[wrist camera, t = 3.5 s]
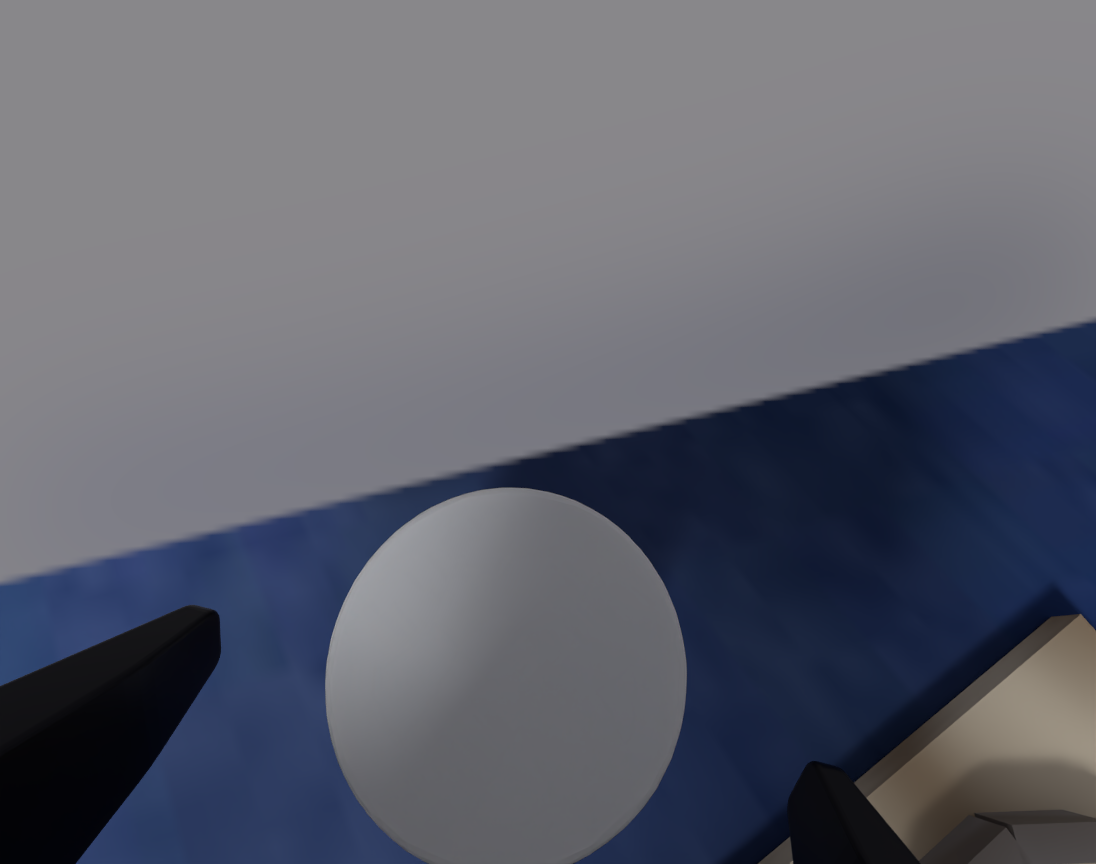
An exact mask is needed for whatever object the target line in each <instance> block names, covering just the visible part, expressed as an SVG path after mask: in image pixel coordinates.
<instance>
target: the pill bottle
mask: <svg viewBox="0 0 1096 864" xmlns="http://www.w3.org/2000/svg"><path fill="white" fill-rule="evenodd" d="M686 683H687V666H686V656H685V649H684V642H683V638H682V633H681V629H680V625H679V621H678V617H677V614H676V611H675V608H674V606H673V603H672V601H671V599H670V596H669V594H668V592H667V589H666V587H665V585H664V583H663V581H662V580H661V578H660V576H659V575H658V573H657V572H656V570H655V568H654V567H653V565H652V564H651V562H650V561H649V559H648V558H647V557H646V555H645V554H644V553H643V552H642V550H641V549H640V548H639V547H638V546H637V545H636V544H635V543H634V542H633V541H632V539H631V538H630V537H629V536H628V535H627V534H626V533H625V532H623V531H622V530H621V529H620V528H619V527H618V526H616V525H615V524H614V523H612V522H611V521H610V520H609V519H607V518H606V517H604V516H603V515H601V514H599V513H598V512H596V511H595V510H593V509H591V508H589V507H587V506H585V505H583V504H581V503H579V502H577V501H575V500H572V499H570V498H567V497H564V496H561V495H557V494H554V493H550V492H546V491H540V490H534V489H529V488H494V489H486V490H479V491H475V492H471V493H467V494H463V495H460V496H457V497H454V498H452V499H449V500H446V501H444V502H442V503H440V504H437V505H435V506H433V507H431V508H429V509H427V510H426V511H424V512H422V513H420V514H419V515H417V516H416V517H415V518H413V519H412V520H410V521H409V522H407V523H406V524H405V525H403V526H402V527H401V528H400V529H398V530H397V531H396V532H395V533H394V534H393V535H392V536H391V537H390V538H389V539H388V540H387V541H386V542H385V543H384V544H383V545H382V546H381V547H380V548H379V549H378V550H377V551H376V552H375V554H374V555H373V556H372V557H371V558H370V560H369V561H368V562H367V564H366V565H365V567H364V568H363V569H362V571H361V572H360V574H359V575H358V577H357V578H356V580H355V581H354V583H353V585H352V587H351V589H350V591H349V593H348V595H347V597H346V599H345V601H344V603H343V606H342V608H341V610H340V613H339V616H338V618H337V621H336V624H335V627H334V631H333V634H332V637H331V641H330V647H329V653H328V658H327V667H326V681H325V694H326V711H327V720H328V725H329V731H330V736H331V741H332V744H333V747H334V750H335V754H336V757H337V760H338V763H339V766H340V768H341V770H342V772H343V775H344V777H345V779H346V781H347V782H348V784H349V786H350V788H351V790H352V792H353V794H354V795H355V797H356V799H357V800H358V802H359V803H360V805H361V806H362V807H363V808H364V809H365V811H366V813H367V814H368V815H369V816H370V818H371V819H372V820H373V821H374V822H375V823H376V824H377V825H378V826H379V828H380V829H381V830H383V831H384V832H385V833H386V834H387V835H388V836H389V837H390V838H391V839H392V840H393V841H395V842H396V843H397V844H398V845H399V846H401V847H402V848H403V849H404V850H406V851H407V852H409V853H410V854H412V855H414V856H416V857H417V858H419V859H421V860H422V861H424V862H426V863H429V864H573V863H575V862H577V861H579V860H581V859H583V858H584V857H586V856H588V855H590V854H591V853H593V852H594V851H596V850H597V849H599V848H600V847H601V846H603V845H604V844H606V843H607V842H609V841H610V840H611V839H612V838H613V837H615V836H616V835H617V834H618V833H619V832H620V831H622V830H623V829H624V828H625V827H626V826H627V825H628V824H629V823H630V822H631V821H632V820H633V818H634V817H635V816H636V815H637V814H638V813H639V812H640V811H641V809H642V808H643V807H644V806H645V805H646V803H647V802H648V800H649V799H650V797H651V796H652V795H653V793H654V792H655V790H656V789H657V787H658V785H659V783H660V781H661V779H662V777H663V775H664V773H665V771H666V769H667V767H668V765H669V763H670V761H671V759H672V756H673V753H674V749H675V746H676V743H677V740H678V737H679V733H680V730H681V725H682V720H683V715H684V708H685V699H686Z"/></svg>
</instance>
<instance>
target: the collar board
mask: <svg viewBox="0 0 1096 864" xmlns="http://www.w3.org/2000/svg"><path fill="white" fill-rule="evenodd" d="M854 784H855V785H856V786H857V787H858V788H859V790H860V791H861V792H862V793H863V794H864V796H865V797H866V798H867V799H868V800H869V802H870V803H871V804H872V805H873V806H874V808H875V809H876V810H877V811H878V812H879V814H880V815H881V816H882V817H883V818H884V820H885V821H886V822H887V823H888V824H889V826H890V827H891V828H892V829H893V830H894V832H895V833H896V834H897V835H898V836H899V838H900V839H901V840H902V841H903V842H904V844H905V845H906V846H907V847H908V848H909V850H910V851H911V852H912V853H913V854H914V856H915V857H916V858H917V859H918V860H919V862H920V863H921V864H1096V631H1095V629H1094V628H1093V627H1092V626H1091V625H1090V624H1089V623H1088V622H1087V621H1086V619H1085V618H1084V617H1083V616H1082V615H1081V614H1077V615H1067V616H1056V617H1051V618H1049V619H1048V620H1047V621H1046V622H1045V623H1043V624H1042V625H1041V626H1040V627H1039V628H1037V629H1036V630H1035V631H1034V632H1033V633H1031V634H1030V635H1029V636H1028V637H1027V638H1026V639H1024V640H1023V641H1022V642H1021V643H1020V644H1018V645H1017V646H1016V647H1015V648H1014V649H1012V650H1011V651H1010V652H1009V653H1008V654H1007V655H1005V656H1004V657H1003V658H1002V659H1001V660H999V661H998V662H997V663H996V664H995V665H993V666H992V667H991V668H990V669H989V670H988V671H986V672H985V673H984V674H983V675H982V676H980V677H979V678H978V679H977V680H976V681H974V682H973V683H972V684H971V685H970V686H968V687H967V688H966V689H965V690H964V691H963V692H961V693H960V694H959V695H958V696H957V697H955V698H954V699H953V700H952V701H951V702H949V703H948V704H947V705H946V706H945V707H944V708H942V709H941V710H940V711H939V712H938V713H936V714H935V715H934V716H933V717H932V718H930V719H929V720H928V721H927V722H926V723H924V724H923V725H922V726H921V727H920V728H919V729H917V730H916V731H915V732H914V733H913V734H911V735H910V736H909V737H908V738H907V739H905V740H904V741H903V742H902V743H901V744H900V745H898V746H897V747H896V748H895V749H894V750H892V751H891V752H890V753H889V754H888V755H886V756H885V757H884V758H883V759H882V760H881V761H879V762H878V763H877V764H876V765H875V766H873V767H872V768H871V769H870V770H869V771H867V772H866V773H865V774H864V775H863V776H861V777H860V778H859V779H858V780H857V781H856V782H854ZM758 864H793V858H792V849H791V841H790V837H789V838H788V839H787V840H785V841H784V842H783V843H782V844H781V845H779V846H778V847H777V848H776V849H775V850H774V851H772V852H771V853H770V854H769V855H768V856H766V857H765V858H764V859H763V860H762V861H760V862H759V863H758Z"/></svg>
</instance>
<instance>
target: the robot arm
mask: <svg viewBox="0 0 1096 864" xmlns="http://www.w3.org/2000/svg"><path fill="white" fill-rule="evenodd" d="M220 654H221V638H220V618H219V615H218V613H217V612H216V611H215V610H212V609H208V608H204V607H200V606H196V605H189V606H185V607H182V608H180V609H178V610H175V611H173V612H171V613H168V614H166V615H164V616H162V617H159V618H157V619H155V620H152V621H150V622H148V623H145V624H143V625H141V626H138V627H136V628H134V629H131V630H129V631H127V632H125V633H122V634H120V635H118V636H115V637H113V638H111V639H108V640H106V641H104V642H101V643H99V644H97V645H94V646H92V647H90V648H87V649H85V650H83V651H81V652H78V653H76V654H74V655H71V656H69V657H67V658H64V659H62V660H60V661H57V662H55V663H53V664H50V665H48V666H46V667H44V668H41V669H39V670H37V671H34V672H32V673H30V674H27V675H25V676H23V677H20V678H18V679H16V680H13V681H11V682H9V683H6V684H4V685H2V686H0V864H76V863H77V861H78V860H79V859H80V857H81V856H82V855H83V854H84V852H85V851H86V850H87V848H88V847H89V846H90V845H91V843H92V842H93V841H94V839H95V838H96V837H97V836H98V834H99V833H100V832H101V830H102V829H103V828H104V827H105V825H106V824H107V823H108V822H109V820H110V819H111V818H112V816H113V815H114V814H115V813H116V811H117V810H118V809H119V807H120V806H121V805H122V804H123V802H124V801H125V800H126V798H127V797H128V796H129V795H130V793H131V792H132V791H133V789H134V788H135V787H136V786H137V784H138V783H139V782H140V780H141V779H142V778H143V776H144V775H145V774H146V772H147V771H148V770H149V768H150V767H151V766H152V764H153V763H154V761H155V760H156V758H157V757H158V755H159V754H160V752H161V751H162V749H163V748H164V746H165V745H166V743H167V742H168V740H169V738H170V737H171V735H172V734H173V732H174V731H175V729H176V728H177V726H178V725H179V723H180V721H181V720H182V718H183V717H184V715H185V714H186V712H187V711H188V709H189V708H190V706H191V704H192V703H193V701H194V700H195V698H196V697H197V695H198V694H199V692H200V690H201V689H202V687H203V686H204V684H205V683H206V681H207V680H208V678H209V677H210V675H211V673H212V672H213V670H214V669H215V667H216V665H217V663H218V661H219V658H220ZM787 813H788V823H789V832H790V841H791V849H792V858H793V864H921V863H920V862H919V860H918V859H917V858H916V857H915V856H914V854H913V853H912V852H911V851H910V850H909V848H908V847H907V846H906V845H905V844H904V842H903V841H902V840H901V839H900V838H899V836H898V835H897V834H896V833H895V832H894V830H893V829H892V828H891V827H890V826H889V824H888V823H887V822H886V821H885V820H884V818H883V817H882V816H881V815H880V814H879V812H878V811H877V810H876V809H875V808H874V806H873V805H872V804H871V803H870V802H869V800H868V799H867V798H866V797H865V796H864V794H863V793H862V792H861V791H860V790H859V788H858V787H857V786H856V785H855V784H854V782H853V781H852V780H851V779H850V778H849V776H848V775H847V774H846V773H845V772H844V771H843V770H842V769H840V768H839V767H837V766H833V765H829V764H825V763H821V762H817V761H811V762H810V763H808V764H807V765H806V767H805V769H804V770H803V772H802V774H801V776H800V778H799V779H798V781H797V783H796V785H795V787H794V789H793V790H792V792H791V794H790V797H789V800H788V807H787Z"/></svg>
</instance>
